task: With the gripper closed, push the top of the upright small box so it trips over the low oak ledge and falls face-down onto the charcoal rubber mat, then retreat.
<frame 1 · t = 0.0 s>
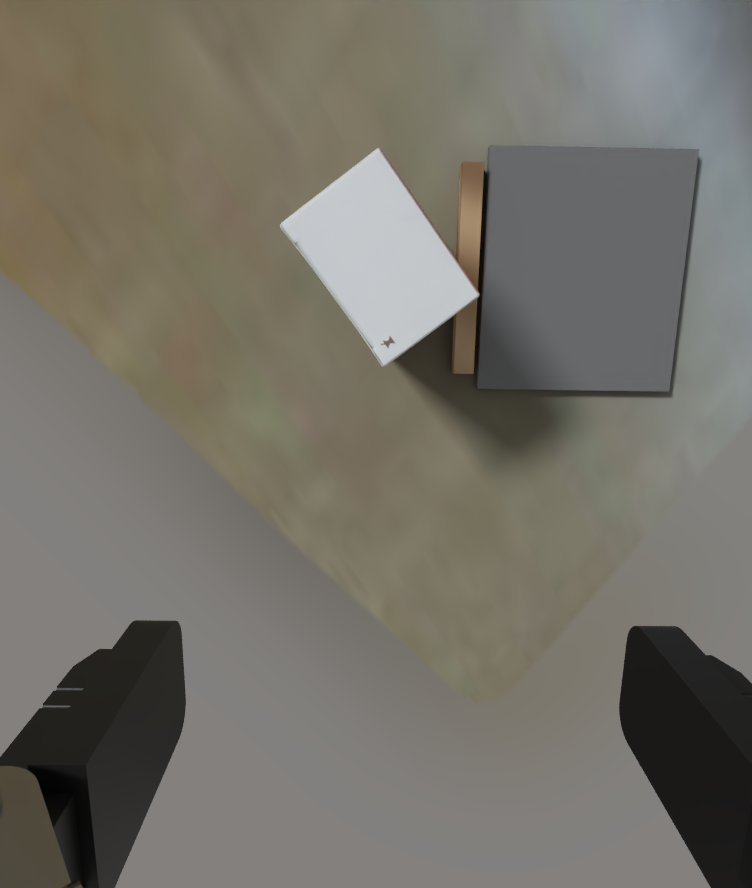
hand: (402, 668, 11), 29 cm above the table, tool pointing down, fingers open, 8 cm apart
small box: (379, 271, 38), on the table
rubber mat: (580, 274, 38), on the table
oak ledge: (465, 272, 38), on the table
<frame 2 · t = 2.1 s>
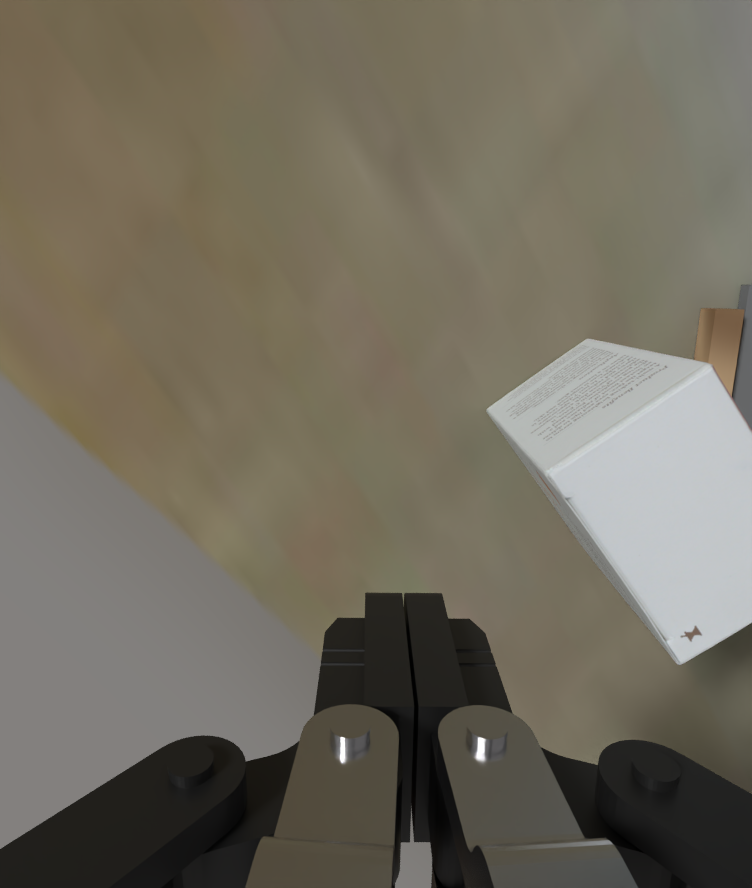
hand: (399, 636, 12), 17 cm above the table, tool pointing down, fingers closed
small box: (579, 440, 29), on the table
oak ledge: (695, 443, 28), on the table
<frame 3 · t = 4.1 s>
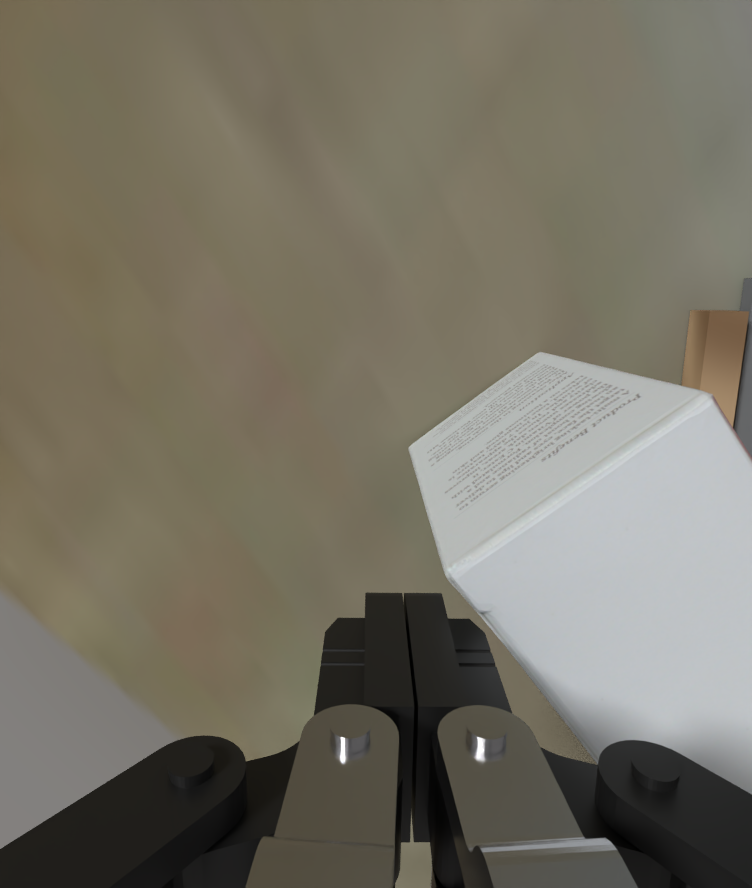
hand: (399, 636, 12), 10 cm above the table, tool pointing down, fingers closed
small box: (534, 485, 22), on the table, touching gripper
oak ledge: (686, 488, 22), on the table
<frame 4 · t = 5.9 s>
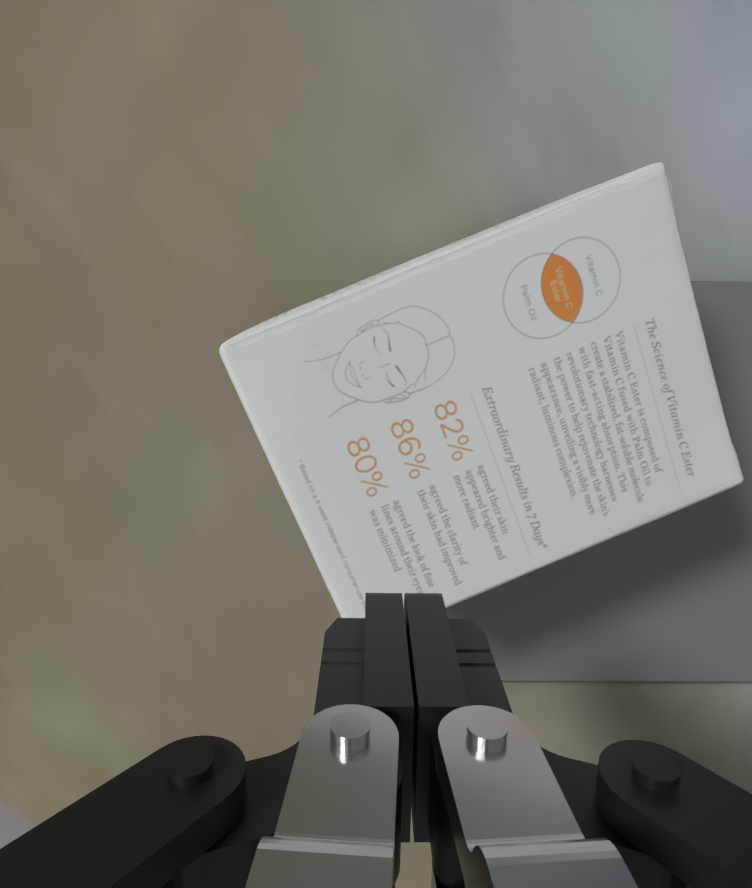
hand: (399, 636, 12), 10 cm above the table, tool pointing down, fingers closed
small box: (282, 477, 17), point 4 cm above the table, touching oak ledge, rubber mat
rubber mat: (612, 490, 22), on the table
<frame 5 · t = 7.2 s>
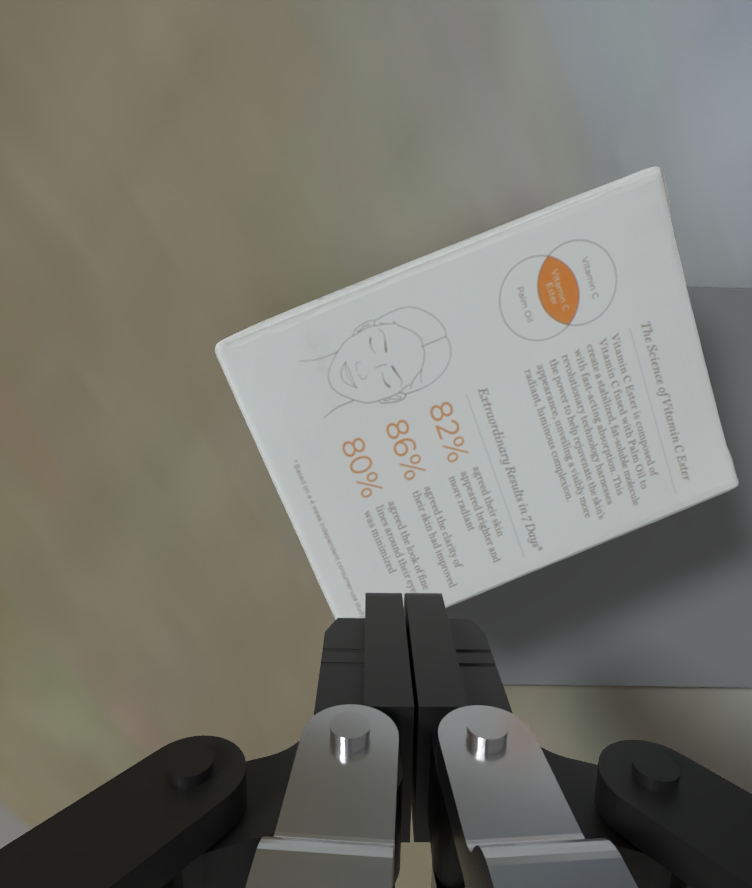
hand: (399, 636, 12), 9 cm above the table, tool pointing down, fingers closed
small box: (277, 478, 17), point 4 cm above the table, touching oak ledge, rubber mat
rubber mat: (608, 495, 22), on the table
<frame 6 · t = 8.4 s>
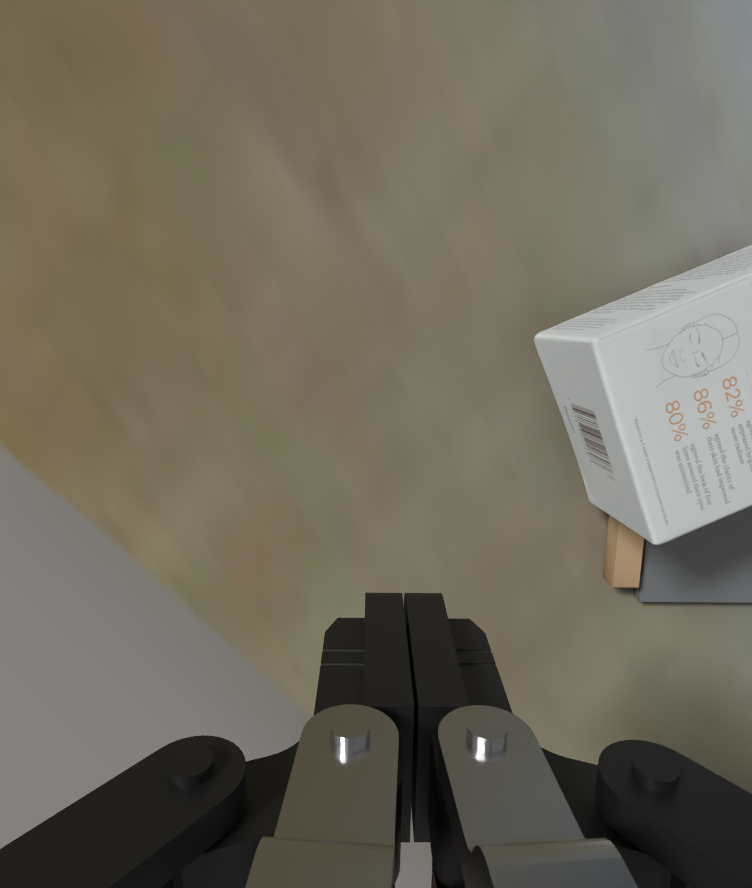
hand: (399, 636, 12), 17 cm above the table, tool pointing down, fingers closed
small box: (582, 435, 24), point 4 cm above the table, touching oak ledge, rubber mat
oak ledge: (628, 453, 29), on the table
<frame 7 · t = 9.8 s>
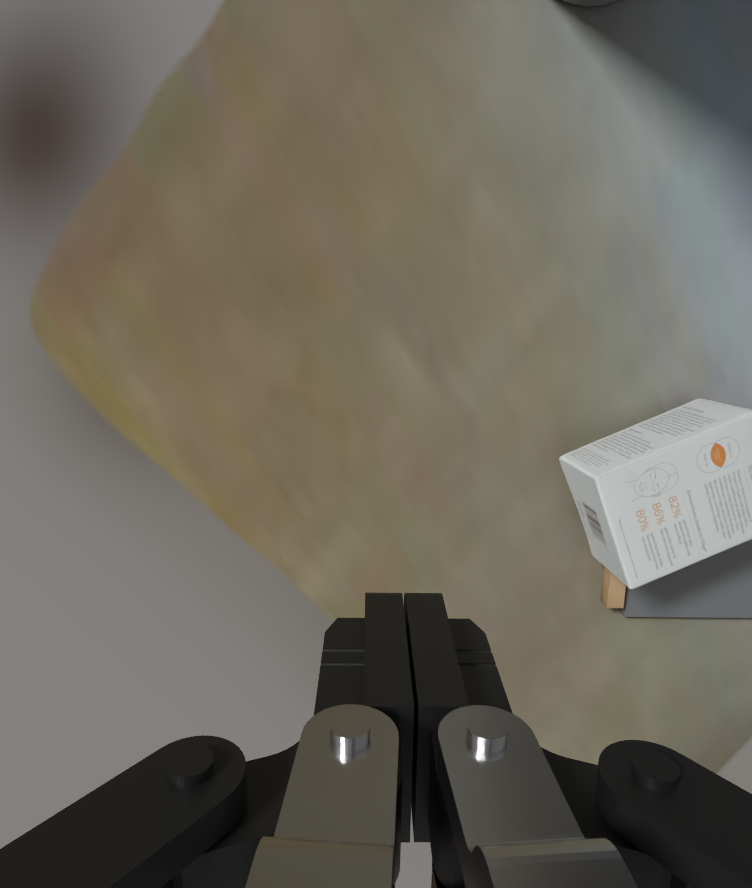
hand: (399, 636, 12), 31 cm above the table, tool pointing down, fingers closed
small box: (588, 521, 40), point 4 cm above the table, touching oak ledge, rubber mat
rubber mat: (714, 524, 45), on the table
oak ledge: (617, 523, 45), on the table
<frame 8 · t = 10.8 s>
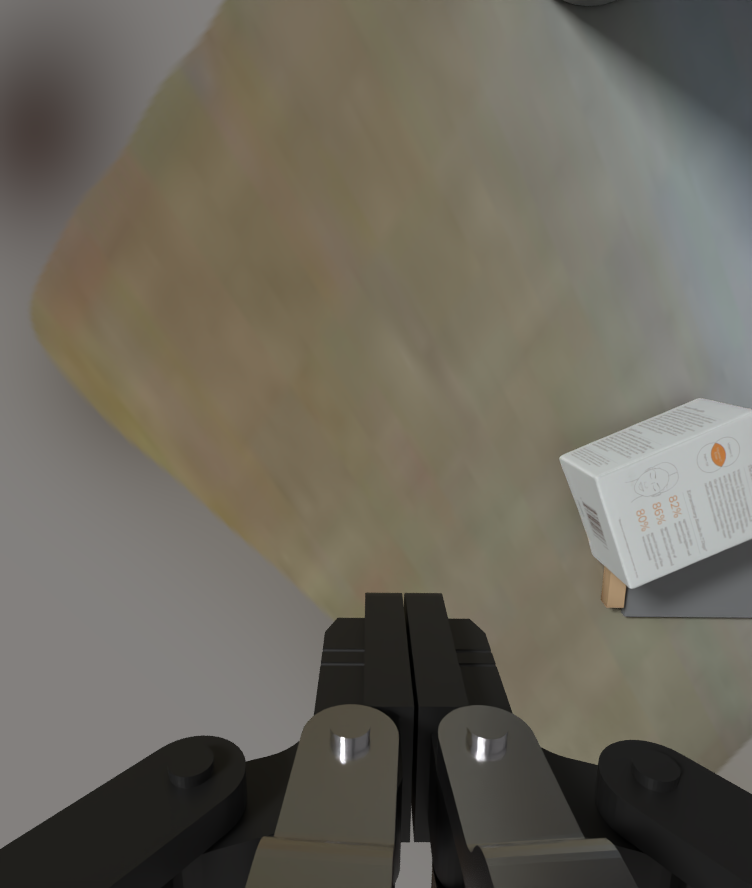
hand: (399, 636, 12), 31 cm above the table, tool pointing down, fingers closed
small box: (589, 521, 40), point 4 cm above the table, touching oak ledge, rubber mat
rubber mat: (714, 524, 45), on the table
oak ledge: (617, 522, 45), on the table
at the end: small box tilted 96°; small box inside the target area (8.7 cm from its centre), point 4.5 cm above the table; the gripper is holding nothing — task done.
